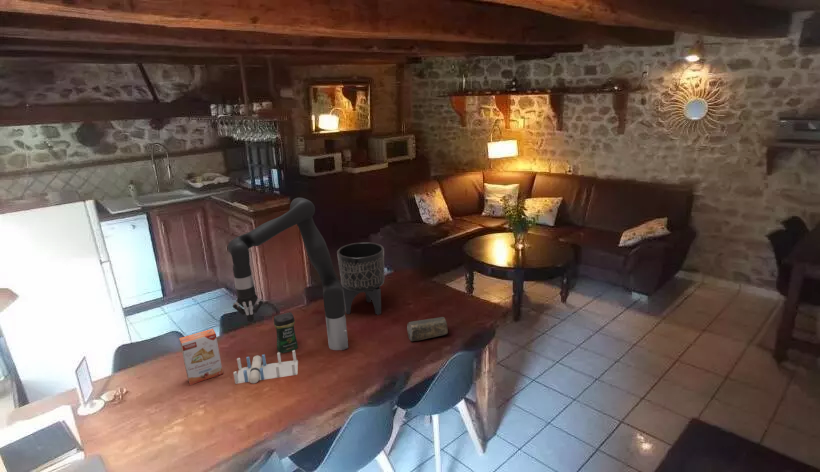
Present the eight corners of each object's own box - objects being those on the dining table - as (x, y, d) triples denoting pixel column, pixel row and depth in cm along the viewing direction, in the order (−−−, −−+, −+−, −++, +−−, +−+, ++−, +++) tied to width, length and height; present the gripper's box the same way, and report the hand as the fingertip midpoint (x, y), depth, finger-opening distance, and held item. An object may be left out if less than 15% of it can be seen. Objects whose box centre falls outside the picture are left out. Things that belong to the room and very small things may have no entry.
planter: (349, 298, 283) (344, 241, 272) (391, 300, 279) (387, 242, 268) (337, 319, 259) (331, 257, 248) (382, 320, 255) (378, 258, 244)
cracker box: (190, 386, 207) (181, 343, 200) (187, 379, 212) (178, 337, 205) (223, 374, 214) (215, 332, 207) (220, 368, 219) (212, 327, 212)
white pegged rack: (298, 361, 222) (296, 349, 220) (297, 377, 209) (295, 365, 207) (239, 369, 217) (237, 358, 215) (235, 386, 205) (233, 374, 203)
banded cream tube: (253, 363, 220) (252, 355, 218) (262, 362, 221) (261, 354, 219) (249, 384, 205) (248, 375, 204) (259, 383, 206) (258, 374, 204)
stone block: (406, 336, 240) (413, 345, 231) (404, 320, 238) (411, 328, 229) (443, 327, 247) (451, 335, 237) (441, 312, 244) (450, 319, 235)
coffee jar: (280, 356, 226) (275, 320, 221) (275, 348, 233) (270, 314, 227) (300, 350, 231) (295, 315, 225) (295, 342, 237) (290, 308, 232)
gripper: (261, 279, 209) (267, 315, 214) (229, 283, 206) (236, 320, 212) (260, 286, 202) (266, 323, 207) (227, 291, 199) (234, 328, 205)
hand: (251, 321), depth 210 cm, fingers closed
